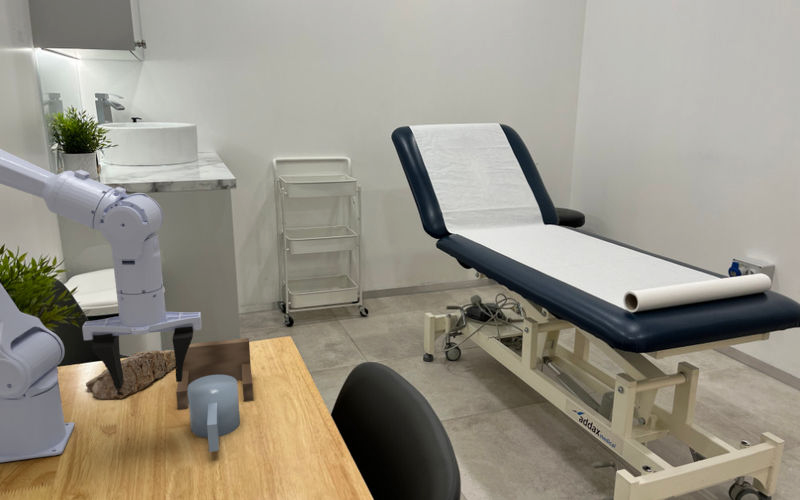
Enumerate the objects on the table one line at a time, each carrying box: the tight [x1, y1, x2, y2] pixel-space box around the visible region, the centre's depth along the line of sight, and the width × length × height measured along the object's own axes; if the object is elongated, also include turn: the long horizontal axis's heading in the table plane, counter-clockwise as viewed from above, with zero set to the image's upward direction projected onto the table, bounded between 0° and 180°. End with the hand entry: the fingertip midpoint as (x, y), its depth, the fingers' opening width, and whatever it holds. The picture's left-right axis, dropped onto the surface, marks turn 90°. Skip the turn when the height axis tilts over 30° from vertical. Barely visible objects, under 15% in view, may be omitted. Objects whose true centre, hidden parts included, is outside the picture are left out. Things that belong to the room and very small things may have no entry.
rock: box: [85, 349, 176, 400], centre depth 103 cm, size 15×10×6 cm
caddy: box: [175, 337, 254, 410], centre depth 99 cm, size 12×9×7 cm
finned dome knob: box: [188, 375, 241, 453], centre depth 86 cm, size 7×13×6 cm, turn 16°
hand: (149, 382), depth 82 cm, fingers open, 7 cm apart
